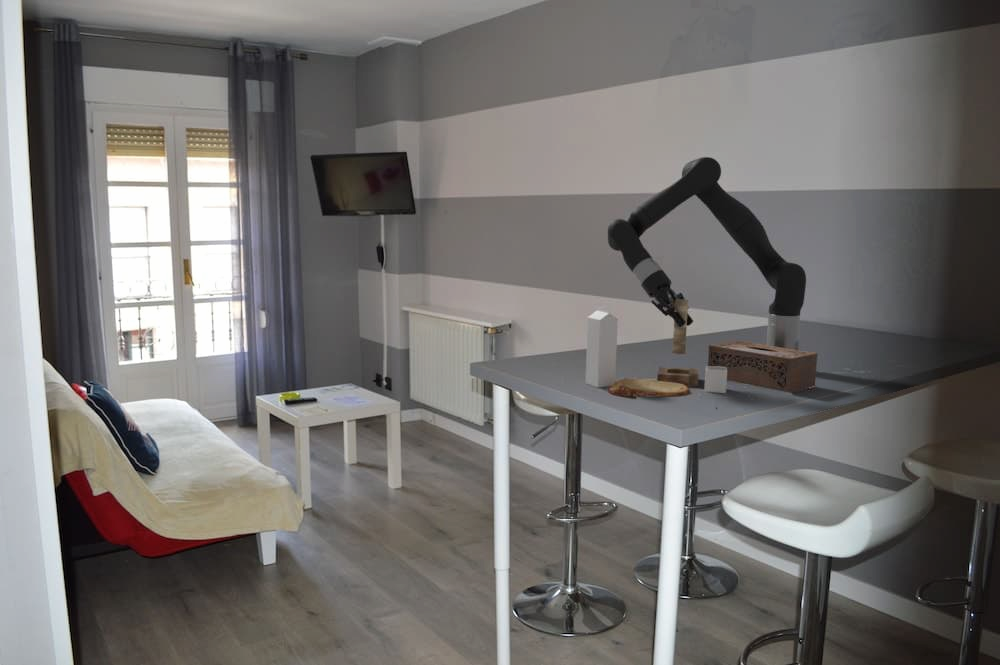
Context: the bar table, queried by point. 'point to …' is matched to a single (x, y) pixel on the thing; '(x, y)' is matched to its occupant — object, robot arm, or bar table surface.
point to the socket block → (678, 376)
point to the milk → (601, 348)
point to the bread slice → (647, 388)
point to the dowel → (680, 328)
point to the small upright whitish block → (715, 379)
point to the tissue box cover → (765, 365)
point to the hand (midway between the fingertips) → (686, 324)
